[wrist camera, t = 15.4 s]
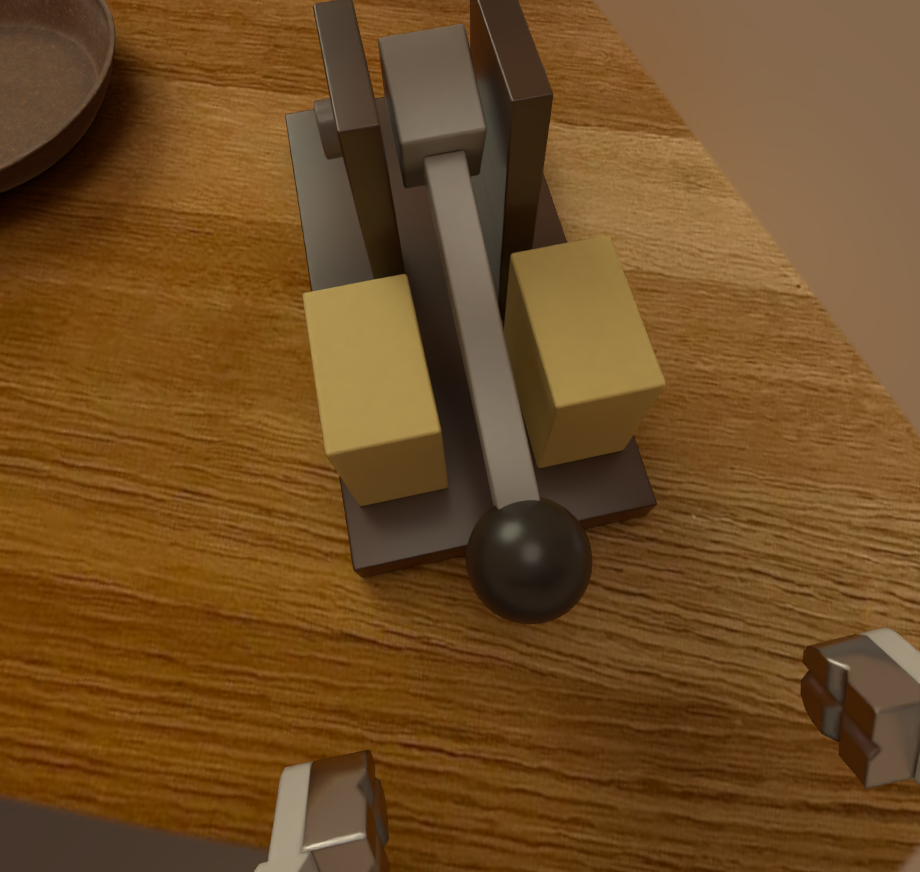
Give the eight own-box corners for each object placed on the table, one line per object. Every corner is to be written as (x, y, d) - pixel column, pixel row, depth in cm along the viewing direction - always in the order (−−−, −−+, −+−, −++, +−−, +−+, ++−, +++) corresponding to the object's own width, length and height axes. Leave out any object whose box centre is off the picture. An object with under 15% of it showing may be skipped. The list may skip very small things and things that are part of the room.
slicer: (646, 515, 21) (799, 371, 11) (361, 578, 21) (256, 484, 11) (508, 103, 29) (527, -208, 19) (293, 141, 28) (193, -159, 18)
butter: (582, 325, 22) (610, 232, 18) (624, 450, 21) (668, 385, 16) (338, 373, 22) (301, 291, 17) (359, 507, 20) (324, 456, 16)
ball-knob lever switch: (586, 594, 17) (621, 621, 14) (475, 619, 17) (486, 653, 14) (476, 88, 18) (485, 5, 15) (368, 107, 18) (354, 27, 15)
